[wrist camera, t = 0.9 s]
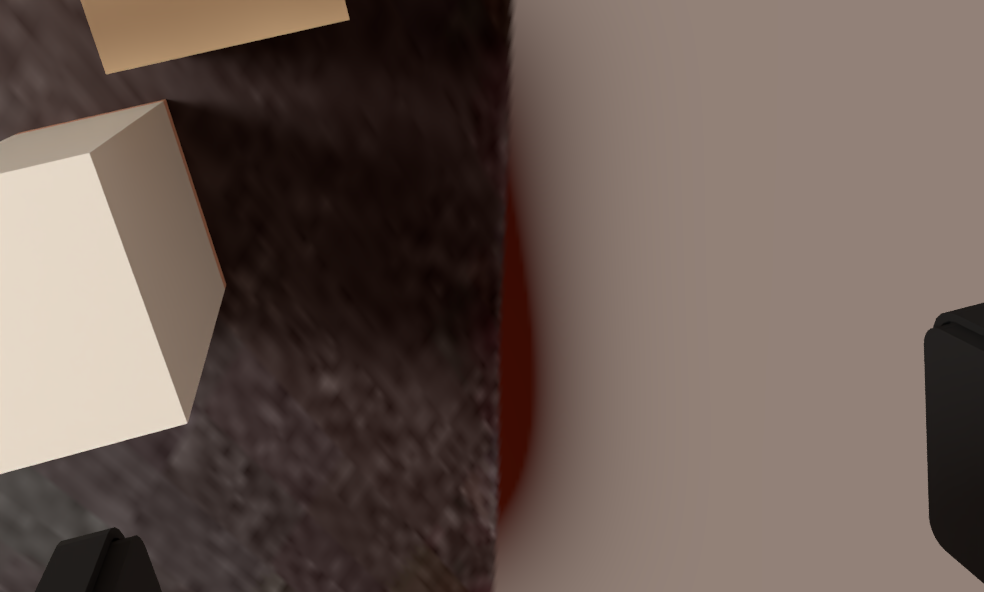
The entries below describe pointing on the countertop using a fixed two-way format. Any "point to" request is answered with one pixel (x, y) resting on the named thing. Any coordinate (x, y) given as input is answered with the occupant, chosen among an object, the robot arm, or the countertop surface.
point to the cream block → (100, 284)
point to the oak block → (195, 26)
